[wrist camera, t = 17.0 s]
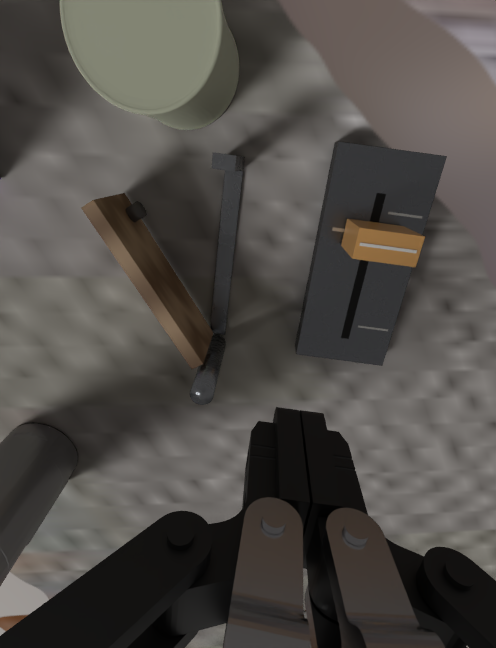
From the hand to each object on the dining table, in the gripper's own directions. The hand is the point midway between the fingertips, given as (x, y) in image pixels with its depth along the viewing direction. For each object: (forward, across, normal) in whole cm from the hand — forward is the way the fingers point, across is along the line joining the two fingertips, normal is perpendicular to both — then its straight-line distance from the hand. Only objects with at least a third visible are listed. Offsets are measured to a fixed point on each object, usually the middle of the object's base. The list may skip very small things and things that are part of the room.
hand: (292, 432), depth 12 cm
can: (+27, +10, -14) cm, 32 cm away
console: (+27, -8, 0) cm, 28 cm away
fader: (+25, -8, -3) cm, 26 cm away
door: (+26, +10, +3) cm, 28 cm away
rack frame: (+27, +5, +2) cm, 28 cm away
